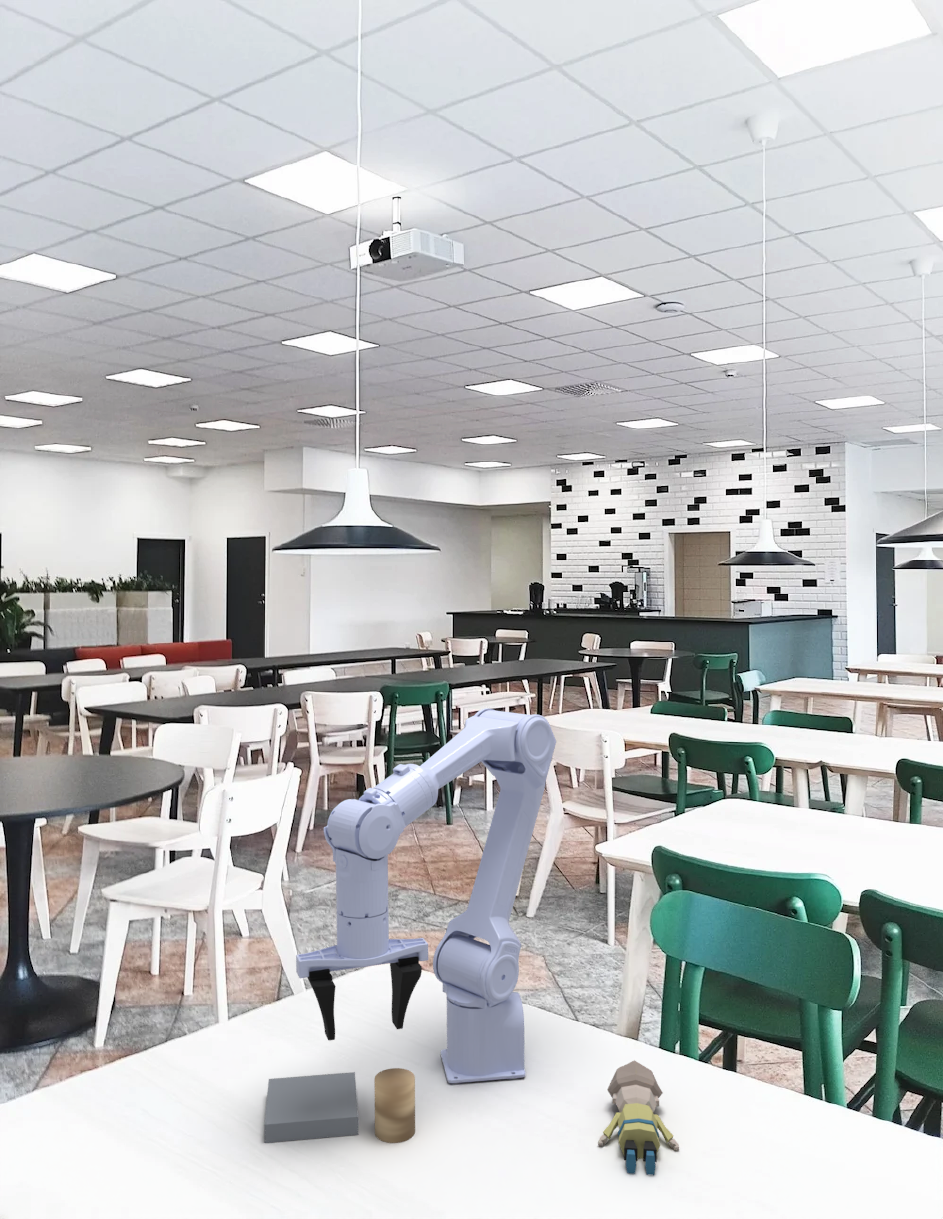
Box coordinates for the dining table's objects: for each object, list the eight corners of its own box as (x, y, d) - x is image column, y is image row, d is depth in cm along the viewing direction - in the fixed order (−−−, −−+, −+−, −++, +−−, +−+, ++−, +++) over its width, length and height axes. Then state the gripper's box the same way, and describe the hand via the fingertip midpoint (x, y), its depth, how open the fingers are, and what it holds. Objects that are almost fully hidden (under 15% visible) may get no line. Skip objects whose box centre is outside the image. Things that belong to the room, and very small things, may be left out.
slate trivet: (355, 1088, 121) (354, 1072, 121) (358, 1134, 111) (358, 1116, 111) (269, 1095, 120) (268, 1078, 119) (264, 1142, 110) (264, 1124, 110)
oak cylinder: (413, 1119, 114) (412, 1066, 114) (417, 1141, 110) (416, 1086, 110) (373, 1122, 114) (373, 1069, 113) (376, 1144, 109) (375, 1089, 109)
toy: (683, 1185, 103) (670, 1101, 118) (683, 1135, 103) (671, 1056, 118) (598, 1180, 104) (596, 1097, 119) (598, 1130, 104) (596, 1052, 119)
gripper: (415, 891, 119) (416, 1006, 120) (290, 906, 114) (292, 1025, 115) (433, 910, 112) (434, 1031, 113) (302, 926, 107) (303, 1053, 108)
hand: (364, 1030), depth 113 cm, fingers open, 7 cm apart
